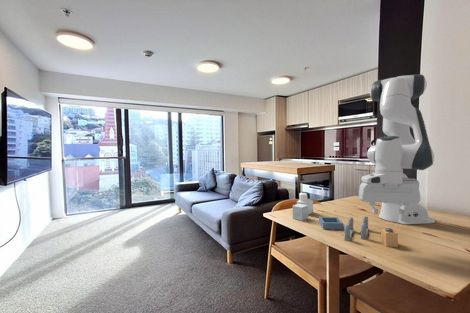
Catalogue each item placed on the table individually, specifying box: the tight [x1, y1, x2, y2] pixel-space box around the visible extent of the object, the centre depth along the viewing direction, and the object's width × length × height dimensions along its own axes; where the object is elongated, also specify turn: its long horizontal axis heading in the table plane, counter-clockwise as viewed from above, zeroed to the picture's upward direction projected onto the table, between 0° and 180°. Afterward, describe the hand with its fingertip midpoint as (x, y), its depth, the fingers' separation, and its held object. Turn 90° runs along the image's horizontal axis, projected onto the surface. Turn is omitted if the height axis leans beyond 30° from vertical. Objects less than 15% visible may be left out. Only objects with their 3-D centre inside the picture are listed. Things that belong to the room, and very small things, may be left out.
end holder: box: [318, 216, 344, 231], centre depth 107 cm, size 9×9×3 cm
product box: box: [292, 203, 309, 222], centre depth 120 cm, size 6×6×7 cm
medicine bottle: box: [296, 191, 314, 216], centre depth 130 cm, size 7×7×12 cm
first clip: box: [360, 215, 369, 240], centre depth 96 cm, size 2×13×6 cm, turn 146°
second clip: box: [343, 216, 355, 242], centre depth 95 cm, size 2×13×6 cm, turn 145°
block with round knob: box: [380, 227, 399, 247], centre depth 85 cm, size 4×4×6 cm
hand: (388, 213), depth 84 cm, fingers open, 8 cm apart
